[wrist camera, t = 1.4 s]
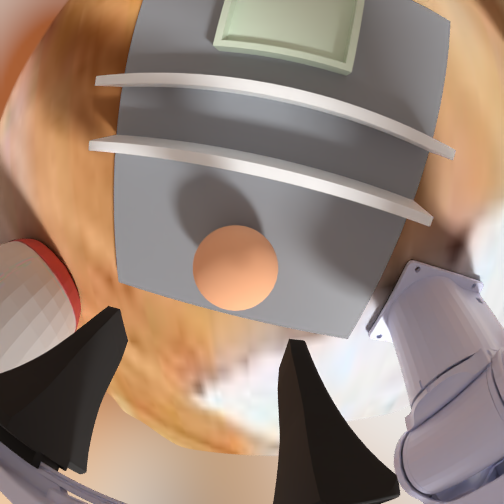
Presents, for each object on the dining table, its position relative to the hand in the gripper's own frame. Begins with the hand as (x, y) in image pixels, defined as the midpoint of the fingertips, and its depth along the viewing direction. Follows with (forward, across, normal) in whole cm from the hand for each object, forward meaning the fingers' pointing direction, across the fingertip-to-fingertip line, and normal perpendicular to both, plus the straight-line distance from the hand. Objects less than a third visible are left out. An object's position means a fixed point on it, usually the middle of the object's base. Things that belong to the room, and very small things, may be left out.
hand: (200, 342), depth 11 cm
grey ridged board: (+10, -2, -7) cm, 12 cm away
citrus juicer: (+11, +22, +9) cm, 26 cm away
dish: (+9, -2, -16) cm, 18 cm away
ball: (+6, -1, 0) cm, 6 cm away
